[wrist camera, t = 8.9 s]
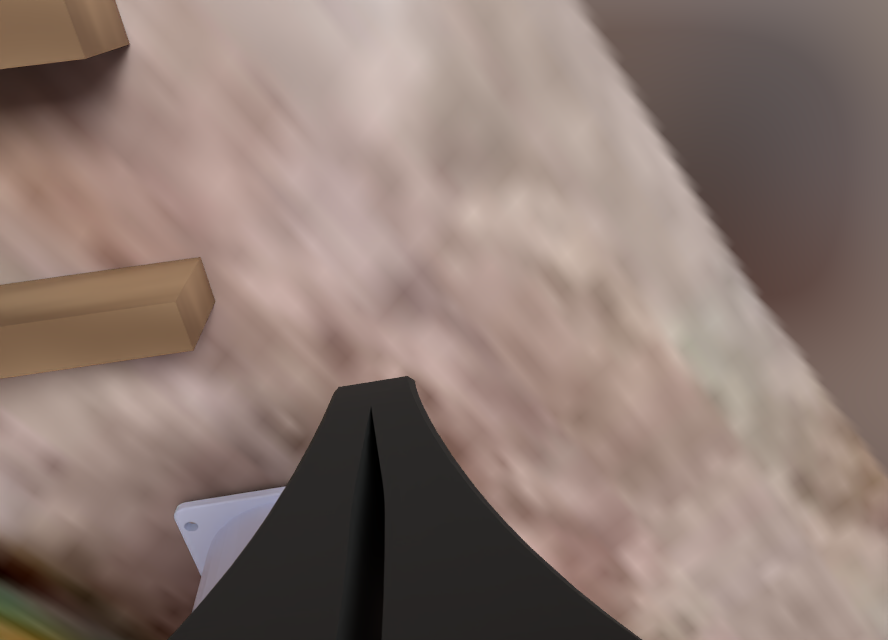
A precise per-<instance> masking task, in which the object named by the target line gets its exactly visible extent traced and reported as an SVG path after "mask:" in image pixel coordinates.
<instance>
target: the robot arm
mask: <svg viewBox="0 0 888 640" xmlns="http://www.w3.org/2000/svg"><path fill="white" fill-rule="evenodd" d="M174 519H175V521H176V524H177V526H178V528H179V530H180V532H181V534H182V536H183V538H184V541H185V543H186V545H187V547H188V549H189V551H190V553H191V556H192V558H193V560H194V562H195V564H196V566H197V568H198V571H199V573H200V575H201V580H200V584H199V588H198V591H197V595H196V599H195V603H194V606H193V610H192V613H191V614H190V616H189V617H188V618H187V619H186V620H185V621H184V622H183V623H182V625H181V626H180V627H179V628H178V629H177V630H176V631H175V632H174V633H173V634H172V635H171V636H170V637H169V638H168V639H167V640H642V639H640V638H639V637H638V636H636V635H635V634H634V633H632V632H631V631H630V630H628V629H627V628H626V627H624V626H623V625H622V624H620V623H619V622H618V621H616V620H615V619H614V618H612V617H611V616H610V615H608V614H607V613H606V612H605V611H603V610H602V609H601V608H600V607H598V606H597V605H596V604H595V603H593V602H592V601H591V600H590V599H588V598H587V597H586V596H585V595H583V594H582V593H581V592H580V591H578V590H577V589H576V588H575V587H574V586H573V585H571V584H570V583H569V582H568V581H567V580H566V579H565V578H564V577H563V576H562V575H560V574H559V573H558V572H557V571H556V570H555V569H554V568H553V567H552V566H550V565H549V564H548V563H547V562H546V561H545V560H544V559H543V558H542V557H540V556H539V555H538V554H537V553H536V552H535V551H534V550H533V549H532V548H531V547H530V546H529V545H528V544H527V543H526V542H525V541H524V540H523V539H522V538H521V537H520V536H519V535H518V534H517V533H516V532H515V531H514V530H513V529H512V528H511V527H510V526H509V525H508V524H507V523H506V522H505V521H504V520H503V518H502V517H501V516H500V515H499V514H498V513H497V512H496V511H495V510H494V508H493V507H492V506H491V505H490V504H489V503H488V502H487V500H486V499H485V498H484V497H483V496H482V494H481V493H480V492H479V491H478V489H477V488H476V487H475V486H474V484H473V483H472V482H471V481H470V479H469V478H468V477H467V475H466V474H465V473H464V471H463V470H462V469H461V467H460V466H459V464H458V463H457V462H456V460H455V459H454V457H453V456H452V455H451V453H450V451H449V450H448V448H447V447H446V445H445V444H444V442H443V441H442V439H441V437H440V436H439V434H438V433H437V431H436V429H435V428H434V426H433V424H432V422H431V421H430V419H429V417H428V415H427V413H426V411H425V409H424V407H423V405H422V402H421V400H420V398H419V395H418V392H417V389H416V385H415V381H414V380H413V379H411V378H410V377H408V376H405V377H399V378H393V379H386V380H380V381H374V382H368V383H362V384H356V385H349V386H343V387H338V389H337V390H336V391H335V392H334V394H333V396H332V398H331V401H330V403H329V405H328V408H327V410H326V412H325V414H324V417H323V419H322V421H321V423H320V425H319V427H318V429H317V431H316V433H315V435H314V437H313V439H312V441H311V443H310V445H309V446H308V448H307V450H306V452H305V454H304V456H303V457H302V459H301V461H300V463H299V465H298V467H297V468H296V470H295V472H294V474H293V475H292V477H291V479H290V481H289V482H288V484H287V485H286V486H285V487H279V488H272V489H266V490H260V491H253V492H247V493H241V494H234V495H228V496H222V497H215V498H209V499H203V500H196V501H190V502H184V503H181V504H180V505H178V506H177V508H176V511H175V514H174ZM189 522H193V523H196V524H192V523H189Z"/></svg>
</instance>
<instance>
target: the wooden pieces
mask: <svg viewBox="0 0 888 640" xmlns="http://www.w3.org/2000/svg"><path fill="white" fill-rule="evenodd" d="M126 45H129V41H128V38H127V35H126V32H125V29H124V26H123V23H122V20H121V17H120V14H119V11H118V8H117V5H116V2H115V0H0V69H6V68H14V67H22V66H30V65H38V64H47V63H55V62H63V61H71V60H79V59H86V58H89V57H92V56H95V55H98V54H101V53H105V52H108V51H111V50H114V49H117V48H120V47H123V46H126ZM214 303H215V300H214V297H213V294H212V291H211V288H210V285H209V281H208V278H207V275H206V272H205V269H204V266H203V263H202V260H201V257H198V258H191V259H184V260H177V261H170V262H162V263H155V264H148V265H141V266H134V267H126V268H119V269H112V270H105V271H98V272H90V273H83V274H76V275H69V276H62V277H54V278H47V279H40V280H33V281H26V282H18V283H11V284H4V285H0V379H2V378H9V377H16V376H22V375H29V374H36V373H43V372H50V371H57V370H64V369H70V368H77V367H84V366H91V365H98V364H105V363H111V362H118V361H125V360H132V359H139V358H146V357H153V356H159V355H166V354H173V353H180V352H187V351H193V350H194V348H195V346H196V344H197V341H198V339H199V337H200V335H201V332H202V330H203V328H204V326H205V323H206V321H207V319H208V316H209V314H210V312H211V310H212V307H213V305H214Z"/></svg>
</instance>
